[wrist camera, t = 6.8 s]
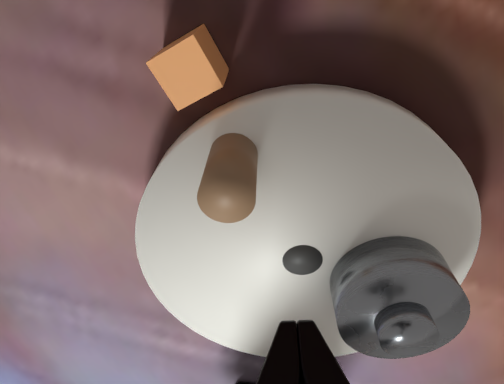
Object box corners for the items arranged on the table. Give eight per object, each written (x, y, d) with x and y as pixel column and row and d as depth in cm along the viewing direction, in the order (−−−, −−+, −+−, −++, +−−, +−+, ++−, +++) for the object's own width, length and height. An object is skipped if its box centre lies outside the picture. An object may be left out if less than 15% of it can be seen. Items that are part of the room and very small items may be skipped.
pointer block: (229, 69, 18) (223, 86, 16) (189, 90, 19) (177, 111, 17) (203, 23, 17) (193, 34, 15) (162, 48, 18) (145, 62, 15)
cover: (458, 296, 23) (493, 357, 20) (353, 328, 25) (367, 389, 22) (428, 218, 20) (464, 274, 16) (311, 262, 22) (319, 320, 18)
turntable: (494, 285, 25) (550, 367, 20) (243, 361, 31) (239, 440, 26) (407, 1, 16) (472, 21, 11) (76, 185, 22) (19, 252, 17)
